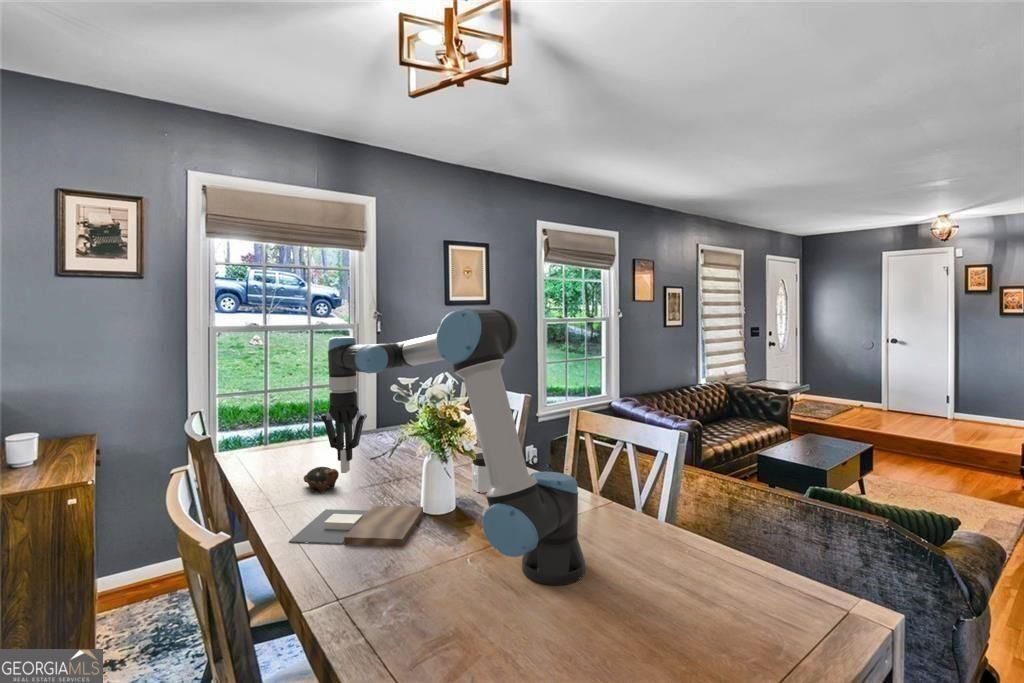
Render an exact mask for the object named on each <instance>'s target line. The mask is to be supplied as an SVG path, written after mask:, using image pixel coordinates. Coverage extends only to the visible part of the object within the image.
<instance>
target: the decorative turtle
mask: <svg viewBox="0 0 1024 683" xmlns="http://www.w3.org/2000/svg"><path fill="white" fill-rule="evenodd" d="M339 476H340V474H339V471H338V470H337V469H336V468H331V467H328V466H318V467H315V468H312V469H310V470H309V471H308V472H307V473H306V475H304V476H303V481H304V483H307V485H308V487H309V490H310V491H312V490H314V491H316V490H317V489H318V492H320V493H321V492H323V491H324V492H325V491H326V490H327V489H328V487H329V488H330V487H333V488H334V487H335V486H336V482H337V480H338V479H339ZM315 489H316V490H315ZM324 492H323V493H324Z"/></svg>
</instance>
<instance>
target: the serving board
mask: <svg viewBox="0 0 1024 683" xmlns="http://www.w3.org/2000/svg"><path fill="white" fill-rule="evenodd" d="M423 507H424V506H407V505H406V506H402V505H401V506H400V505H372V506H371V508H370V509H369V511H368V512H367V513H366V514H365V515H364V516H363V517H362V518H361V519H360V521H359V522H358V523H357V524H356V525H355V526H354V527H353V528H352V529H351V530H350V531H349V532H348V533H347V534H346V536H345V537H344V543H343V545H347V544H353V545H354V546H377V547H378V546H381V547H384V546H385V547H403V546H404V545H405V543H406V541H407V540H408V538H409V536H411V534H412V532H413V531H414V529H415V528H416V526H417V524H418V523H419V521H420V520H421V518H422V517H423V515H424V514H423Z"/></svg>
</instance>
